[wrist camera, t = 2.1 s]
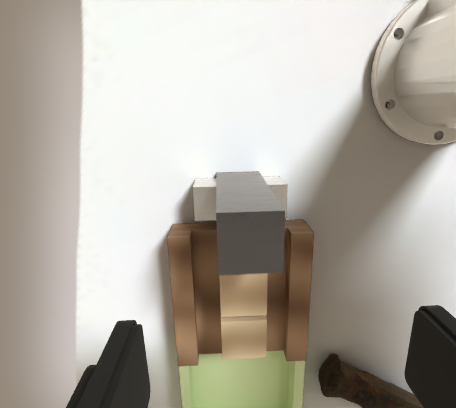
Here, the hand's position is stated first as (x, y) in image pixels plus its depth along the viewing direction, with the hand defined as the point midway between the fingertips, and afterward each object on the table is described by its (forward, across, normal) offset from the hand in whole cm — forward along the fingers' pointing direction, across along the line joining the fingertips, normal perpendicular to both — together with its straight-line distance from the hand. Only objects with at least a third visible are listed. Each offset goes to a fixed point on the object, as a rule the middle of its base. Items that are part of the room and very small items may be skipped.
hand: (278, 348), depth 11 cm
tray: (+20, 0, +22) cm, 30 cm away
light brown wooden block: (+18, 0, +12) cm, 22 cm away
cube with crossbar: (+20, 0, 0) cm, 20 cm away
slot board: (+20, 0, +10) cm, 23 cm away
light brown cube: (+18, 0, +7) cm, 20 cm away
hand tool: (+21, -18, +25) cm, 37 cm away
